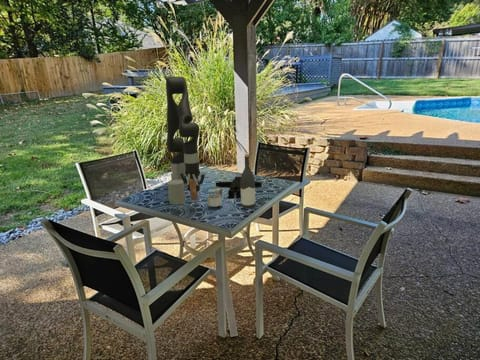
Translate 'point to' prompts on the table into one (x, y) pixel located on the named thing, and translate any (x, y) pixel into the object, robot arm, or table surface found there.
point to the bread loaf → (193, 189)
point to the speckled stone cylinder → (176, 192)
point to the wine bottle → (247, 185)
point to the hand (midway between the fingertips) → (194, 190)
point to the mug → (215, 198)
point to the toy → (235, 187)
